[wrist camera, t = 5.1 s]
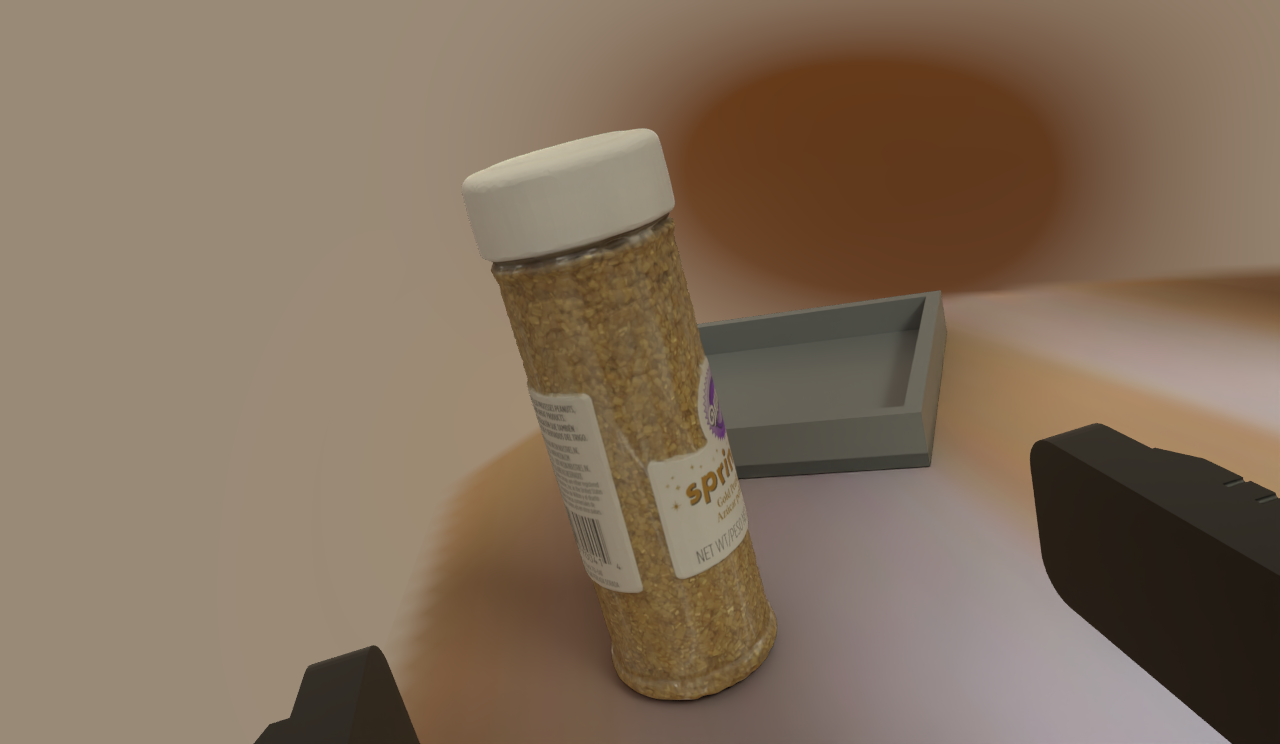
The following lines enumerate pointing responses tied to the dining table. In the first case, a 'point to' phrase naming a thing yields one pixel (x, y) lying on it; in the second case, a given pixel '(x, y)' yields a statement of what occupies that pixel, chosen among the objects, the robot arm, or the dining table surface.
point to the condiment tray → (830, 385)
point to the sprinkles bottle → (627, 406)
